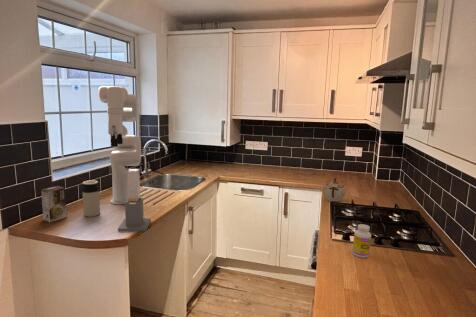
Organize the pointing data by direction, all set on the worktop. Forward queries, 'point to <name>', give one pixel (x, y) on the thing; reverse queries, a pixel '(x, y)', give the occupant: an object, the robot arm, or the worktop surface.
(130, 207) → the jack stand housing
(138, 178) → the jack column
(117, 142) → the robot arm
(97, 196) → the travel mug
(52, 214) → the coffee box
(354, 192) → the worktop surface
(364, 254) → the supplement bottle
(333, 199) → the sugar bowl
